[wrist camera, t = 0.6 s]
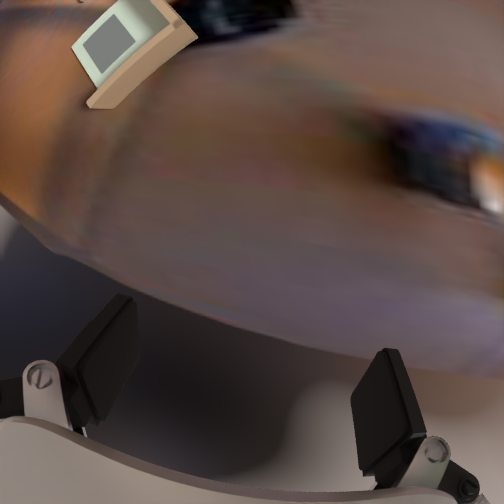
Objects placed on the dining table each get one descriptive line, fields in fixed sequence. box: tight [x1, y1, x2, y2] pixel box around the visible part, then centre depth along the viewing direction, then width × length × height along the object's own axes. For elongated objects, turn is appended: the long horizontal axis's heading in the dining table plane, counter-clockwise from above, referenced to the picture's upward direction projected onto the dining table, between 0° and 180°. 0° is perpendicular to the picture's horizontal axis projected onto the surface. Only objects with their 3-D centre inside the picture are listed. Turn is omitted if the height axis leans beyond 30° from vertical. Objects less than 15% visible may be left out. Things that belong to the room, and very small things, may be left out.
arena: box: [71, 0, 198, 109], centre depth 27 cm, size 16×16×6 cm
